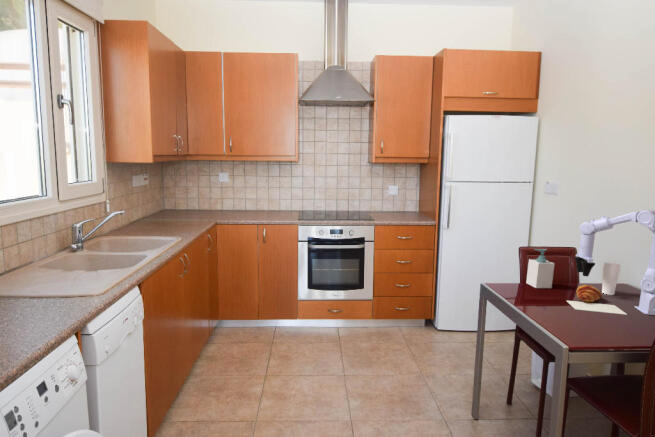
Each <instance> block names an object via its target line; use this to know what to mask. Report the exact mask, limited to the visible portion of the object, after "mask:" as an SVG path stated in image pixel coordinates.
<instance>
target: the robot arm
mask: <svg viewBox="0 0 655 437" xmlns="http://www.w3.org/2000/svg"><path fill="white" fill-rule="evenodd" d="M629 222H634V223H639V224H640V225H642V226H644V227H646V228H648V229H649V231H651V232H652V234H653V236H652V242H651V247H650V252H649V253H650V254H649V259H648V264H647V265H648V266H647V269H646V271H645V273H644V274H643V275H644V276H643V278H642V279H641V280H640V282H639V283H640V284H639V285H640V288H641V289H640V290H641V291H640V296H639V303H638V304H639V305H638V306H636V305H634V308H635V309H637V311H640V312H641V313H643V314H644V315H650V316H651V315H652V316H655V209H649V210H640V211H633V212H629V213H626V214H622V215H619V216H616V217H612V218H611V217H609V216H605V215H604V216H601V217H600V218H597V219H591V220H590V221H584V222H583V223H580V226H579V230H580V232H581V233H580V239H579V247H578V252H577V253H576V254H575V256H574V261H575V265H576V272H577V273H582V276H583V277H589V276H590V273H591V271H592V269H593V267H594V266H595V265H596V263H595V262H593V261H594V258H593V253H594V252H593V251H594V244H595V237H596V236H595V235H596V233H599V232H604V231H607V230H612V229H614V228H613V227H614V226H615V225H619V224H625V223H629Z"/></svg>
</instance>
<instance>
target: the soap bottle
mask: <svg viewBox="0 0 655 437" xmlns="http://www.w3.org/2000/svg"><path fill="white" fill-rule="evenodd" d="M547 250H548V249H547V248H539V249H538V248H534V251H537V252H540V255H539V256H538V257H536V258H528V263H527V273H526V282H525V283H526V284H527V285H529V286H531V287H533V288H535V289H552V288H553V280H554V272H555V271H554V270H555V262H552V261H549V260H547V258H546V255H545V251H547Z"/></svg>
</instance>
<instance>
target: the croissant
mask: <svg viewBox="0 0 655 437" xmlns="http://www.w3.org/2000/svg"><path fill="white" fill-rule="evenodd" d="M575 292H576V297H577V298H578V299H579V301H581V302H587V303H594V302H596V301H598V300H600V299H601V298H602V295H603V293H602V291H600V289H598V288H596V287H595V286H593V285H589V284H583V285H579V286H578V287H577V289H576V291H575Z"/></svg>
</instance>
